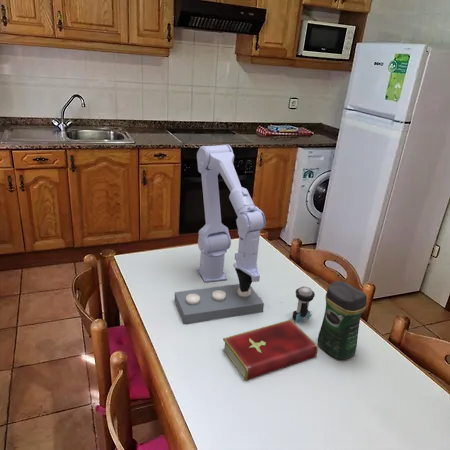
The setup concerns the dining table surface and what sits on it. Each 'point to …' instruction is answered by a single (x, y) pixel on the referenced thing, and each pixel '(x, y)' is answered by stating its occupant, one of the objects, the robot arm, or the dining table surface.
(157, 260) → the dining table surface
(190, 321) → the knob panel
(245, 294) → the knob
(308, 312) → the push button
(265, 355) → the hardcover book
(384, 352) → the dining table surface
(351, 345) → the coffee jar
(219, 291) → the knob middle
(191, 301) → the knob
